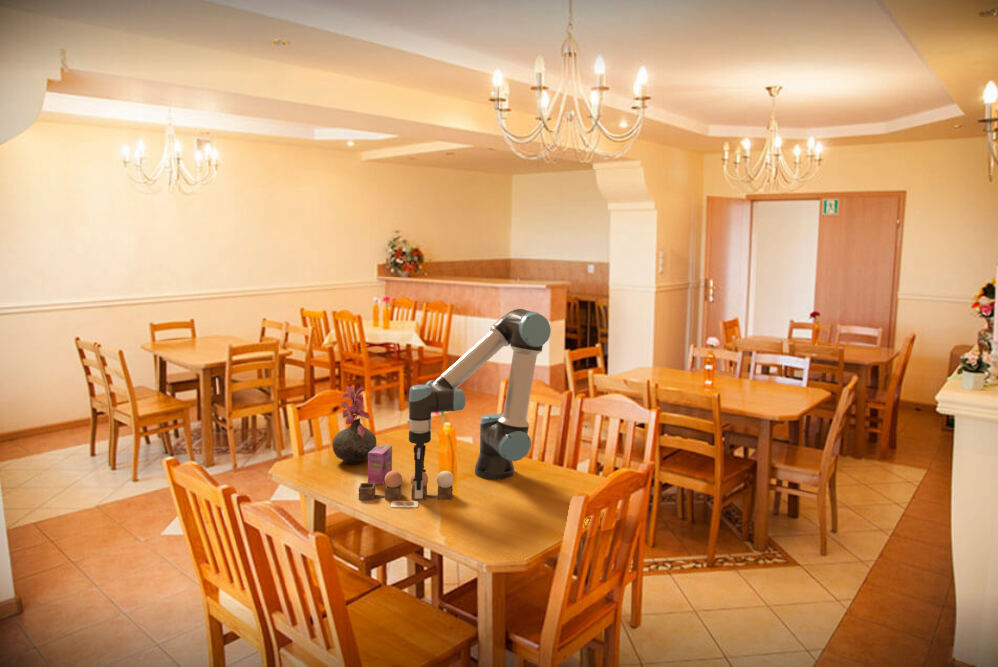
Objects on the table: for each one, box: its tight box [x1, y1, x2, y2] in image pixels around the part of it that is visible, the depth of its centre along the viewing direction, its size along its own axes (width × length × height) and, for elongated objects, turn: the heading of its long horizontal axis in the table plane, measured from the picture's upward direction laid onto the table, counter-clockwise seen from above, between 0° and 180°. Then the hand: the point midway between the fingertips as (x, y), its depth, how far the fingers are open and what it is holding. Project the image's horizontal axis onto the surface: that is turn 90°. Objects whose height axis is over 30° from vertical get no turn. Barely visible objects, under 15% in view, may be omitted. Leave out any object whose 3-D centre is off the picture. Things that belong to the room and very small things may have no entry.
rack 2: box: [411, 484, 453, 501], centre depth 228 cm, size 14×5×4 cm, turn 93°
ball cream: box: [436, 470, 455, 488], centre depth 228 cm, size 6×6×6 cm
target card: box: [390, 500, 419, 509], centre depth 221 cm, size 9×5×1 cm, turn 93°
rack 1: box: [358, 482, 402, 501], centre depth 227 cm, size 14×5×4 cm, turn 93°
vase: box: [332, 386, 377, 465], centre depth 260 cm, size 17×17×30 cm
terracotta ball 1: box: [384, 470, 403, 488], centre depth 227 cm, size 6×6×6 cm
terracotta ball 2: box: [410, 472, 429, 487], centre depth 228 cm, size 6×6×6 cm
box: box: [367, 443, 393, 485], centre depth 243 cm, size 10×6×12 cm, turn 168°
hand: (419, 494), depth 228 cm, fingers closed on terracotta ball 2, 6 cm apart
